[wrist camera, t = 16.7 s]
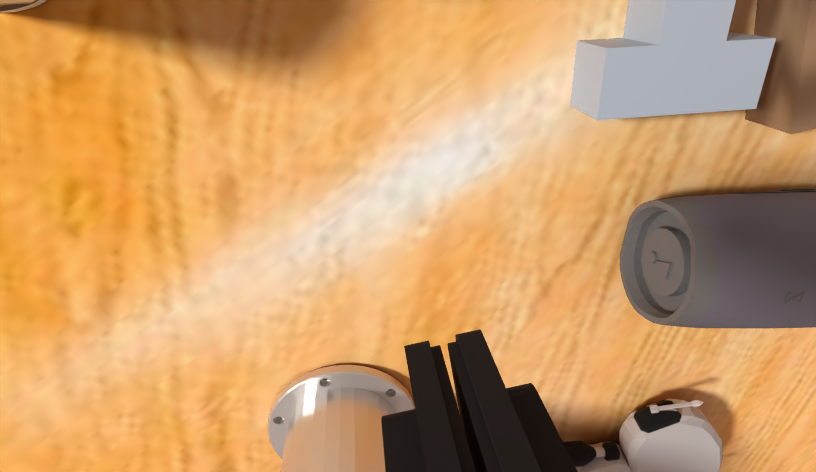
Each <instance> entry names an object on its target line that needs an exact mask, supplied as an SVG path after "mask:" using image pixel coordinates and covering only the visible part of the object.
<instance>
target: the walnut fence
mask: <svg viewBox="0 0 816 472" xmlns="http://www.w3.org/2000/svg"><path fill="white" fill-rule="evenodd" d="M754 35H757V36H765V37H772V38H776V41H775V44H774V48H773V51H772V55H771V58H770V62H769V65H768V69H767V72H766V76H765V79H764V83H763V86H762V90H761V93H760V97H759V100H758V104H757V108H756V109H746V116H745V119H746V120H749V121H752V122H756V123H759V124H762V125H765V126H768V127H771V128H774V129H777V130H780V131H783V132H786V133H789V134H794V133H798V132H802V131H806V130H810V129H814V128H816V0H758V2H757V11H756V21H755V30H754Z"/></svg>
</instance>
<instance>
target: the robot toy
mask: <svg viewBox="0 0 816 472" xmlns="http://www.w3.org/2000/svg"><path fill="white" fill-rule="evenodd" d="M703 403H704V402H702V401H699V400H695V401H692V402H688V401H685V400H679V399H671V398H669V399H666V400H663V401H660V402H658V403H653V404H650V405H648V406H646V407H644V408H641V409H639V410H637V411H634V412H631V414H630V415H629V416H628V418H627V419H626V420H625V421H624V423H623V425H622V427H621V429H620V433H619V442H620V447H621V449H620V447H619V445H618V444H616V443H615V441H613V442H611V441H606V442H601V443H597V444H593V445H591V444H586V443H584V442H582V441H571V442H563V443H564V445H565V447H566V449H567V451H568V453H569V455H570V457H571V459H572V461H573V463H574V465H575V467H576V469H577V471H578V472H718V471H719V469H720V466H721V463H722V457H723V449H722V440H721V438H720V437H719V435H718V434H717V432H716V431H715V429H714V428H713V426H712V425H711V424H710V422H709V421H708V419H707V418H706V417H705V415H704V414H703V412H702V411H701V410H700V409H699V408H698V407H697V406H700V405H702V404H703Z"/></svg>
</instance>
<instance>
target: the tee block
mask: <svg viewBox="0 0 816 472" xmlns="http://www.w3.org/2000/svg"><path fill="white" fill-rule="evenodd" d="M735 3H736V0H629V2H628V9H627V15H626V22H625V29H624V36H623V38H614V39H597V40H580V41H577V46H576V55H575V65H574V75H573V84H572V94H571V103H570V106H572V107H574V108H576V109H578V110H579V111H581V112H583V113H585V114H587V115H588V116H590V117H592V118H594V119H596V120H607V119H621V118H635V117H649V116H663V115H677V114H691V113H704V112H718V111H732V110H746V109H756V108H757V104H758V100H759V97H760V93H761V90H762V86H763V83H764V79H765V76H766V72H767V69H768V65H769V62H770V58H771V55H772V51H773V48H774V44H775V41H776V38H772V37H765V36H757V35H749V34H742V33H734V32H729V28H730V24H731V20H732V15H733V11H734V7H735Z"/></svg>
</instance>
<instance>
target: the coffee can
mask: <svg viewBox="0 0 816 472" xmlns="http://www.w3.org/2000/svg"><path fill="white" fill-rule="evenodd" d="M46 1H47V0H0V13H7V12H18V11H22V10H26V9H30V8H33V7H35V6H37V5H40V4H42V3H44V2H46Z"/></svg>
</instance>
